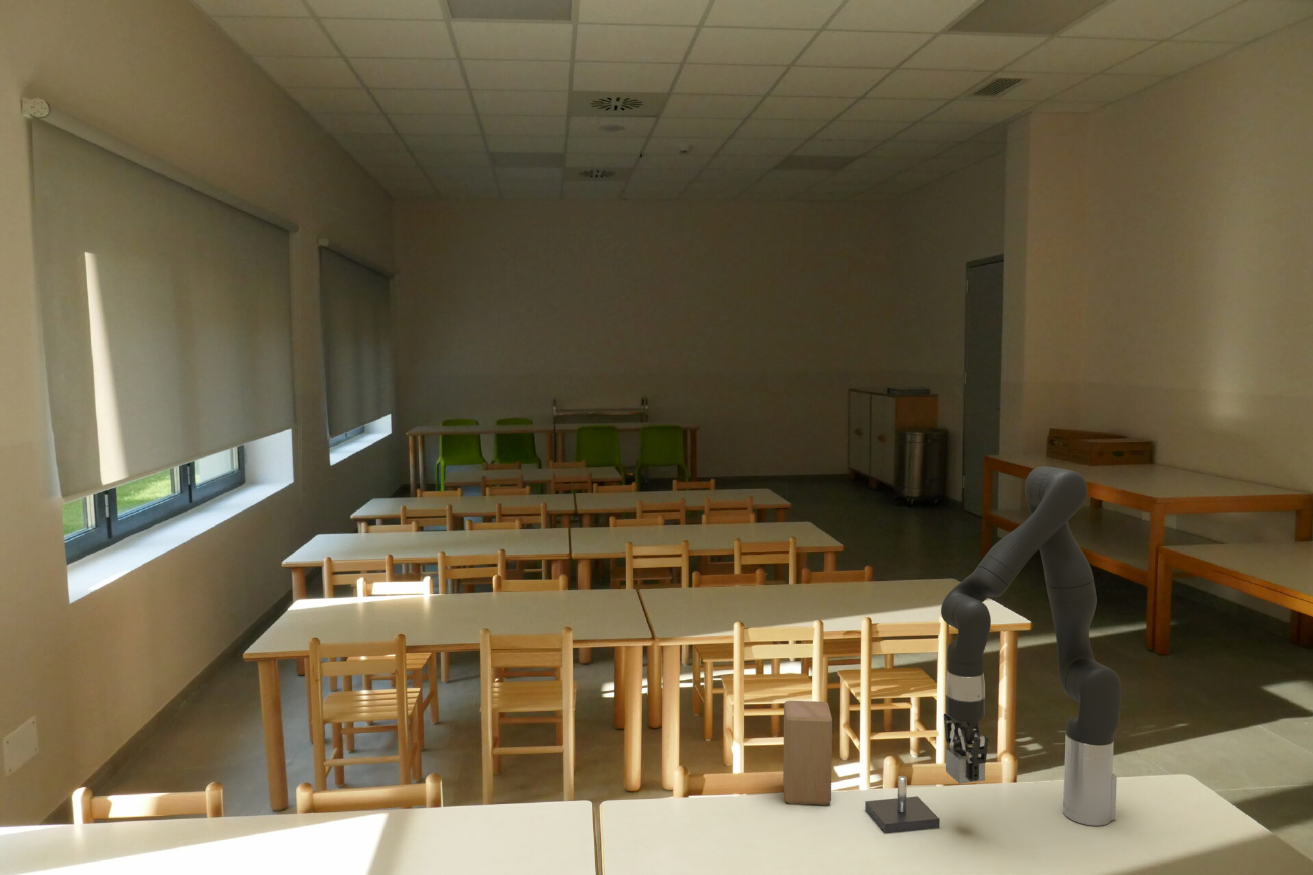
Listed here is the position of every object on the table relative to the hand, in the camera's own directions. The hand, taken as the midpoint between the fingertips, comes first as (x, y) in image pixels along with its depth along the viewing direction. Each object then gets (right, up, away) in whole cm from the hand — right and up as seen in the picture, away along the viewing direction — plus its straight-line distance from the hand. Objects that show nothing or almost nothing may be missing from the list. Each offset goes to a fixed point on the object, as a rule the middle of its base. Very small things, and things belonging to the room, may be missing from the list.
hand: (965, 772), depth 191 cm
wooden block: (-30, -11, +17) cm, 36 cm away
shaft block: (-11, -12, +6) cm, 18 cm away
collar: (0, -1, 0) cm, 1 cm away
